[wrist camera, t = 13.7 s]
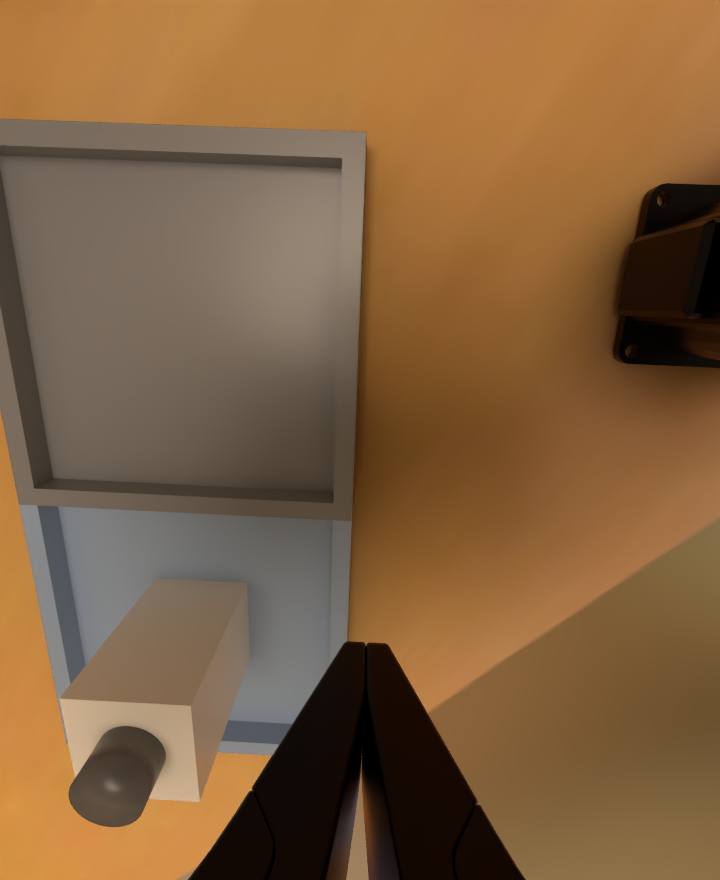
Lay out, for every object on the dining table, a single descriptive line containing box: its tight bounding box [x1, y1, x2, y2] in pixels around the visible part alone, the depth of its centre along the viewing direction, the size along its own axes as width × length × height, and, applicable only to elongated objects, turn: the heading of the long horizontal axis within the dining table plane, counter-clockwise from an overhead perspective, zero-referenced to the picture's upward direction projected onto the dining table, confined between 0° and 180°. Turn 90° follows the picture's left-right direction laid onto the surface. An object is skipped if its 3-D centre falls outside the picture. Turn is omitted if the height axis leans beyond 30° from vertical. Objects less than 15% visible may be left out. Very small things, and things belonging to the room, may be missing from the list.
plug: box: [59, 578, 250, 827], centre depth 18 cm, size 4×4×9 cm
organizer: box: [0, 119, 367, 755], centre depth 20 cm, size 15×28×2 cm, turn 178°
